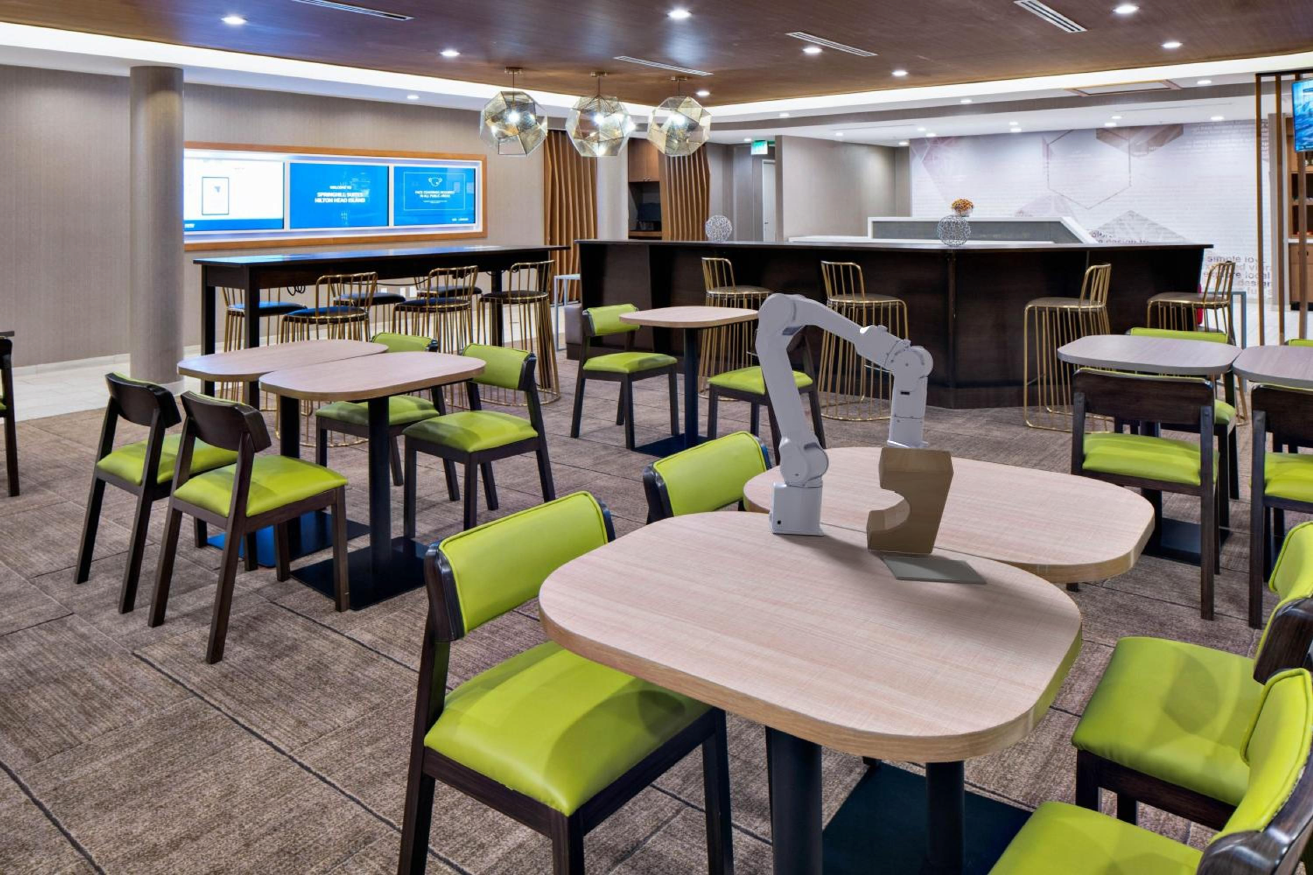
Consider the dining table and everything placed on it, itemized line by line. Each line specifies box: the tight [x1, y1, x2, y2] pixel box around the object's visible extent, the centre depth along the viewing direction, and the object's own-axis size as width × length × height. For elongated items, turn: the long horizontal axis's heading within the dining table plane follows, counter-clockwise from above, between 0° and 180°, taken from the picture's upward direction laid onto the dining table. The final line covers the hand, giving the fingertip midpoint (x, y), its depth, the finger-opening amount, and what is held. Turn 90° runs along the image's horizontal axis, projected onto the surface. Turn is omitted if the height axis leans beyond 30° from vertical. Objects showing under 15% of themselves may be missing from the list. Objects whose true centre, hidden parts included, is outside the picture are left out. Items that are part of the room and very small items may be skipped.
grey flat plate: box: [881, 555, 988, 585], centre depth 154 cm, size 14×12×1 cm
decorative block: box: [865, 446, 955, 555], centre depth 159 cm, size 11×6×20 cm
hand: (900, 492), depth 166 cm, fingers closed
